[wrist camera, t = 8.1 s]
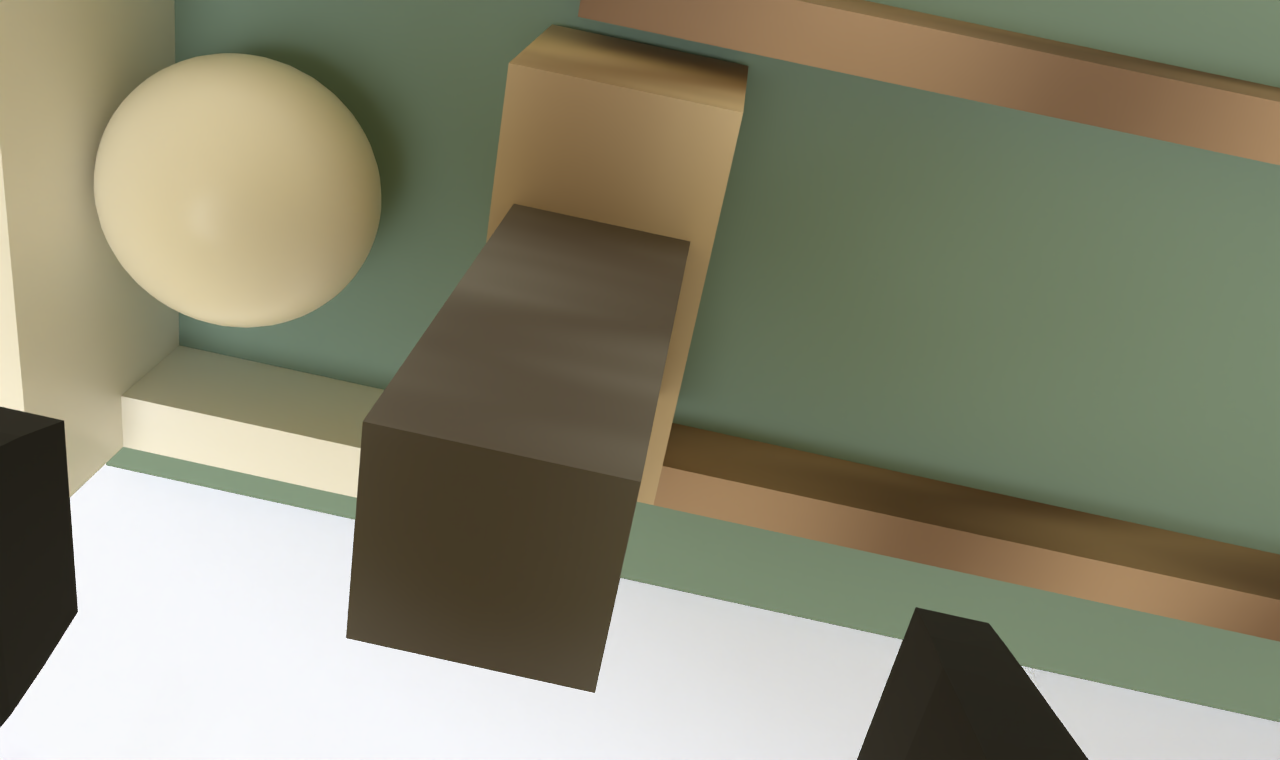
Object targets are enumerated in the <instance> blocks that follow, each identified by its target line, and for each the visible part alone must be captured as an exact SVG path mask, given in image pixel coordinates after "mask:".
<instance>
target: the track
mask: <svg viewBox="0 0 1280 760" xmlns="http://www.w3.org/2000/svg"><path fill="white" fill-rule="evenodd" d="M578 17H581V18H586V19H591V20H595V21H600V22H605V23H610V24H614V25H619V26H624V27H629V28H633V29H638V30H643V31H647V32H652V33H657V34H662V35H666V36H671V37H676V38H681V39H685V40H690V41H695V42H699V43H704V44H709V45H714V46H718V47H723V48H728V49H732V50H737V51H742V52H747V53H751V54H756V55H761V56H766V57H770V58H775V59H780V60H784V61H789V62H794V63H799V64H803V65H808V66H813V67H818V68H822V69H827V70H832V71H836V72H841V73H846V74H851V75H855V76H860V77H865V78H869V79H874V80H879V81H884V82H888V83H893V84H898V85H903V86H907V87H912V88H917V89H921V90H926V91H931V92H936V93H940V94H945V95H950V96H955V97H959V98H964V99H969V100H973V101H978V102H983V103H988V104H992V105H997V106H1002V107H1006V108H1011V109H1016V110H1021V111H1025V112H1030V113H1035V114H1040V115H1044V116H1049V117H1054V118H1058V119H1063V120H1068V121H1073V122H1077V123H1082V124H1087V125H1092V126H1096V127H1101V128H1106V129H1110V130H1115V131H1120V132H1125V133H1129V134H1134V135H1139V136H1143V137H1148V138H1153V139H1158V140H1162V141H1167V142H1172V143H1177V144H1181V145H1186V146H1191V147H1195V148H1200V149H1205V150H1210V151H1214V152H1219V153H1224V154H1229V155H1233V156H1238V157H1243V158H1247V159H1252V160H1257V161H1262V162H1266V163H1271V164H1276V165H1280V88H1278V87H1273V86H1268V85H1264V84H1259V83H1254V82H1250V81H1245V80H1240V79H1235V78H1231V77H1226V76H1221V75H1216V74H1212V73H1207V72H1202V71H1197V70H1193V69H1188V68H1183V67H1178V66H1174V65H1169V64H1164V63H1159V62H1155V61H1150V60H1145V59H1140V58H1136V57H1131V56H1126V55H1121V54H1117V53H1112V52H1107V51H1102V50H1098V49H1093V48H1088V47H1083V46H1079V45H1074V44H1069V43H1064V42H1060V41H1055V40H1050V39H1045V38H1041V37H1036V36H1031V35H1026V34H1022V33H1017V32H1012V31H1007V30H1003V29H998V28H993V27H988V26H984V25H979V24H974V23H969V22H965V21H960V20H955V19H950V18H946V17H941V16H936V15H931V14H927V13H922V12H917V11H912V10H908V9H903V8H898V7H893V6H889V5H884V4H879V3H874V2H870V1H865V0H580V6H579V12H578ZM654 505H655V506H659V507H664V508H669V509H673V510H678V511H682V512H687V513H691V514H696V515H701V516H705V517H710V518H714V519H719V520H724V521H728V522H733V523H737V524H742V525H747V526H751V527H756V528H760V529H765V530H769V531H774V532H779V533H783V534H788V535H792V536H797V537H802V538H806V539H811V540H815V541H820V542H825V543H829V544H834V545H838V546H843V547H847V548H852V549H857V550H861V551H866V552H870V553H875V554H880V555H884V556H889V557H893V558H898V559H903V560H907V561H912V562H916V563H921V564H925V565H930V566H935V567H939V568H944V569H948V570H953V571H958V572H962V573H967V574H971V575H976V576H981V577H985V578H990V579H994V580H999V581H1003V582H1008V583H1013V584H1017V585H1022V586H1026V587H1031V588H1036V589H1040V590H1045V591H1049V592H1054V593H1058V594H1063V595H1068V596H1072V597H1077V598H1081V599H1086V600H1091V601H1095V602H1100V603H1104V604H1109V605H1114V606H1118V607H1123V608H1127V609H1132V610H1136V611H1141V612H1146V613H1150V614H1155V615H1159V616H1164V617H1169V618H1173V619H1178V620H1182V621H1187V622H1192V623H1196V624H1201V625H1205V626H1210V627H1214V628H1219V629H1224V630H1228V631H1233V632H1237V633H1242V634H1247V635H1251V636H1256V637H1260V638H1265V639H1270V640H1274V641H1279V642H1280V554H1275V553H1270V552H1266V551H1261V550H1256V549H1252V548H1247V547H1243V546H1238V545H1233V544H1229V543H1224V542H1220V541H1215V540H1210V539H1206V538H1201V537H1197V536H1192V535H1187V534H1183V533H1178V532H1173V531H1169V530H1164V529H1160V528H1155V527H1150V526H1146V525H1141V524H1137V523H1132V522H1127V521H1123V520H1118V519H1113V518H1109V517H1104V516H1100V515H1095V514H1090V513H1086V512H1081V511H1077V510H1072V509H1067V508H1063V507H1058V506H1054V505H1049V504H1044V503H1040V502H1035V501H1030V500H1026V499H1021V498H1017V497H1012V496H1007V495H1003V494H998V493H994V492H989V491H984V490H980V489H975V488H971V487H966V486H961V485H957V484H952V483H947V482H943V481H938V480H934V479H929V478H924V477H920V476H915V475H911V474H906V473H901V472H897V471H892V470H888V469H883V468H878V467H874V466H869V465H864V464H860V463H855V462H851V461H846V460H841V459H837V458H832V457H828V456H823V455H818V454H814V453H809V452H804V451H800V450H795V449H791V448H786V447H781V446H777V445H772V444H768V443H763V442H758V441H754V440H749V439H745V438H740V437H735V436H731V435H726V434H721V433H717V432H712V431H708V430H703V429H698V428H694V427H689V426H685V425H680V424H675V423H672V426H671V431H670V435H669V440H668V444H667V448H666V453H665V457H664V461H663V466H662V470H661V474H660V479H659V483H658V488H657V492H656V496H655V501H654Z"/></svg>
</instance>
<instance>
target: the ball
mask: <svg viewBox="0 0 1280 760" xmlns="http://www.w3.org/2000/svg"><path fill="white" fill-rule="evenodd" d="M94 197H95V205H96V209H97V213H98V217H99V221H100V224H101V228H102V230H103V233H104V235H105V238H106V240H107V242H108V244H109V246H110V247H111V249H112V251H113V253H114V254H115V256H116V257H117V259H118V261H119V262H120V264H121V265H122V266H123V268H124V269H125V270H126V271H127V272H128V273H129V275H130V276H131V277H132V278H133V279H134V280H135V281H136V282H137V283H138V284H139V285H140V286H141V287H142V288H143V289H144V290H146V291H147V292H148V293H149V294H150V295H152V296H153V297H154V298H156V299H157V300H159V301H160V302H162V303H163V304H165V305H167V306H168V307H170V308H172V309H173V310H176V311H178V312H180V313H182V314H184V315H186V316H189V317H191V318H194V319H197V320H200V321H204V322H207V323H211V324H216V325H221V326H229V327H244V328H250V327H261V326H271V325H276V324H280V323H284V322H287V321H291V320H294V319H296V318H299V317H302V316H304V315H306V314H308V313H310V312H312V311H314V310H316V309H318V308H319V307H321V306H322V305H324V304H325V303H327V302H328V301H330V300H331V299H333V298H334V297H335V296H336V295H337V294H339V293H340V292H341V291H342V290H343V289H344V288H345V287H346V286H347V285H348V284H349V283H350V281H351V280H352V279H353V278H354V276H355V275H356V274H357V272H358V271H359V269H360V268H361V266H362V265H363V263H364V261H365V260H366V258H367V256H368V254H369V252H370V250H371V247H372V245H373V243H374V239H375V236H376V233H377V230H378V225H379V221H380V214H381V184H380V175H379V171H378V166H377V163H376V160H375V157H374V154H373V151H372V148H371V145H370V143H369V141H368V139H367V137H366V135H365V133H364V131H363V129H362V128H361V126H360V124H359V123H358V121H357V120H356V119H355V117H354V116H353V114H352V113H351V112H350V111H349V109H348V108H347V107H346V106H345V105H344V104H343V103H342V102H341V101H340V100H339V98H338V97H337V96H336V95H335V94H334V93H332V92H331V91H330V90H328V89H327V88H326V87H325V86H323V85H322V84H321V83H319V82H318V81H317V80H316V79H314V78H313V77H311V76H309V75H307V74H305V73H303V72H301V71H299V70H298V69H296V68H294V67H292V66H290V65H287V64H284V63H281V62H278V61H275V60H272V59H269V58H266V57H261V56H255V55H249V54H240V53H219V54H210V55H204V56H197V57H193V58H190V59H187V60H183V61H180V62H178V63H175V64H173V65H171V66H169V67H166V68H164V69H162V70H160V71H158V72H157V73H155V74H154V75H152V76H150V77H149V78H147V79H146V80H145V81H144V82H142V83H141V84H140V85H139V86H138V87H136V88H135V89H134V90H133V91H132V92H131V93H130V94H129V95H128V96H127V97H126V98H125V100H124V101H123V102H122V103H121V104H120V106H119V107H118V108H117V110H116V111H115V112H114V114H113V115H112V117H111V119H110V121H109V123H108V124H107V126H106V128H105V131H104V133H103V136H102V138H101V141H100V144H99V148H98V151H97V155H96V162H95V169H94Z"/></svg>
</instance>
